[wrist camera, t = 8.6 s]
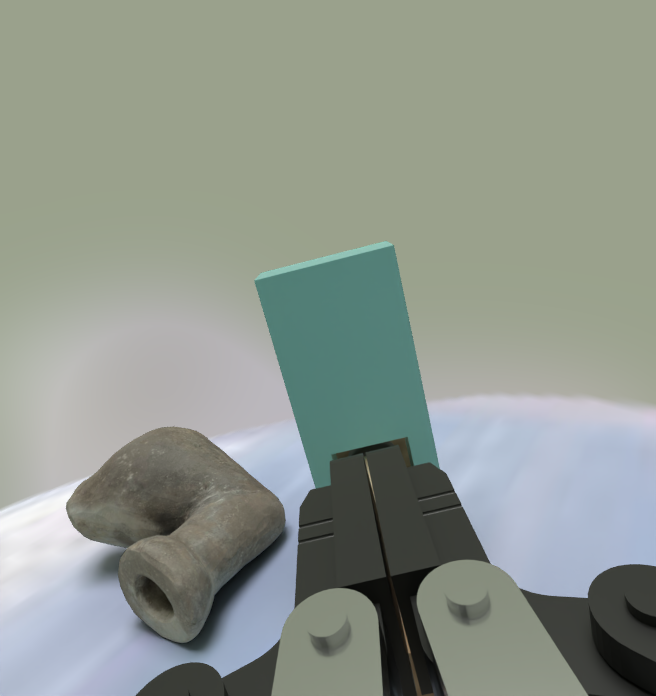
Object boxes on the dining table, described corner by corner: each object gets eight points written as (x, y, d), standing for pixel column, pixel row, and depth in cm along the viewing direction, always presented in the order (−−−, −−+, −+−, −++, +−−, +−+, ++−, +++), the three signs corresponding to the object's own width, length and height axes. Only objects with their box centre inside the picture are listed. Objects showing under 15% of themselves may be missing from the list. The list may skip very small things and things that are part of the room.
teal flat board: (451, 528, 26) (393, 244, 21) (335, 554, 26) (254, 280, 22) (440, 500, 28) (386, 240, 24) (333, 524, 29) (260, 273, 24)
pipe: (279, 593, 39) (149, 491, 44) (332, 496, 39) (197, 406, 44) (150, 696, 23) (-26, 521, 29) (239, 536, 24) (48, 390, 29)
